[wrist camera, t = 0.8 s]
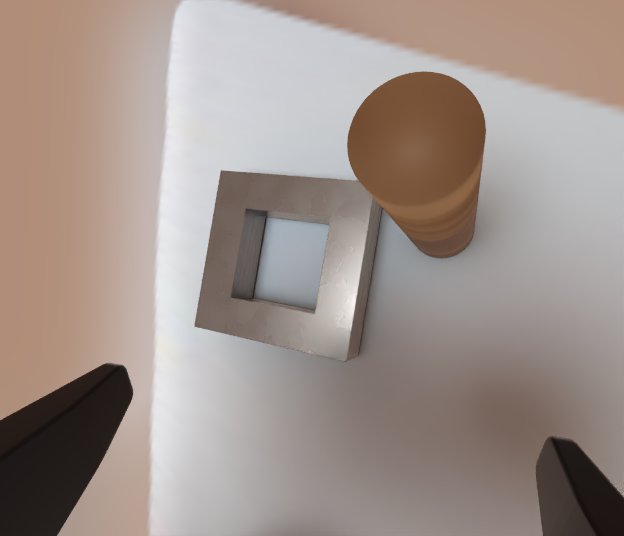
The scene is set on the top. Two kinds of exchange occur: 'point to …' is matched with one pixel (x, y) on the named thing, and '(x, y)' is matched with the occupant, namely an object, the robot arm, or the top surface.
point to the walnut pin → (422, 157)
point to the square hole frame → (245, 254)
